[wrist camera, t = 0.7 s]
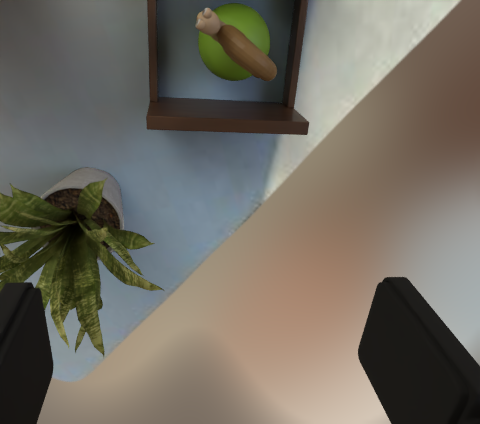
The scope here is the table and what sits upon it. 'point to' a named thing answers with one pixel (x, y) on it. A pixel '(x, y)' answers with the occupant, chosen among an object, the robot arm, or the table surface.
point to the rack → (227, 111)
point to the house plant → (70, 245)
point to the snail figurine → (235, 43)
